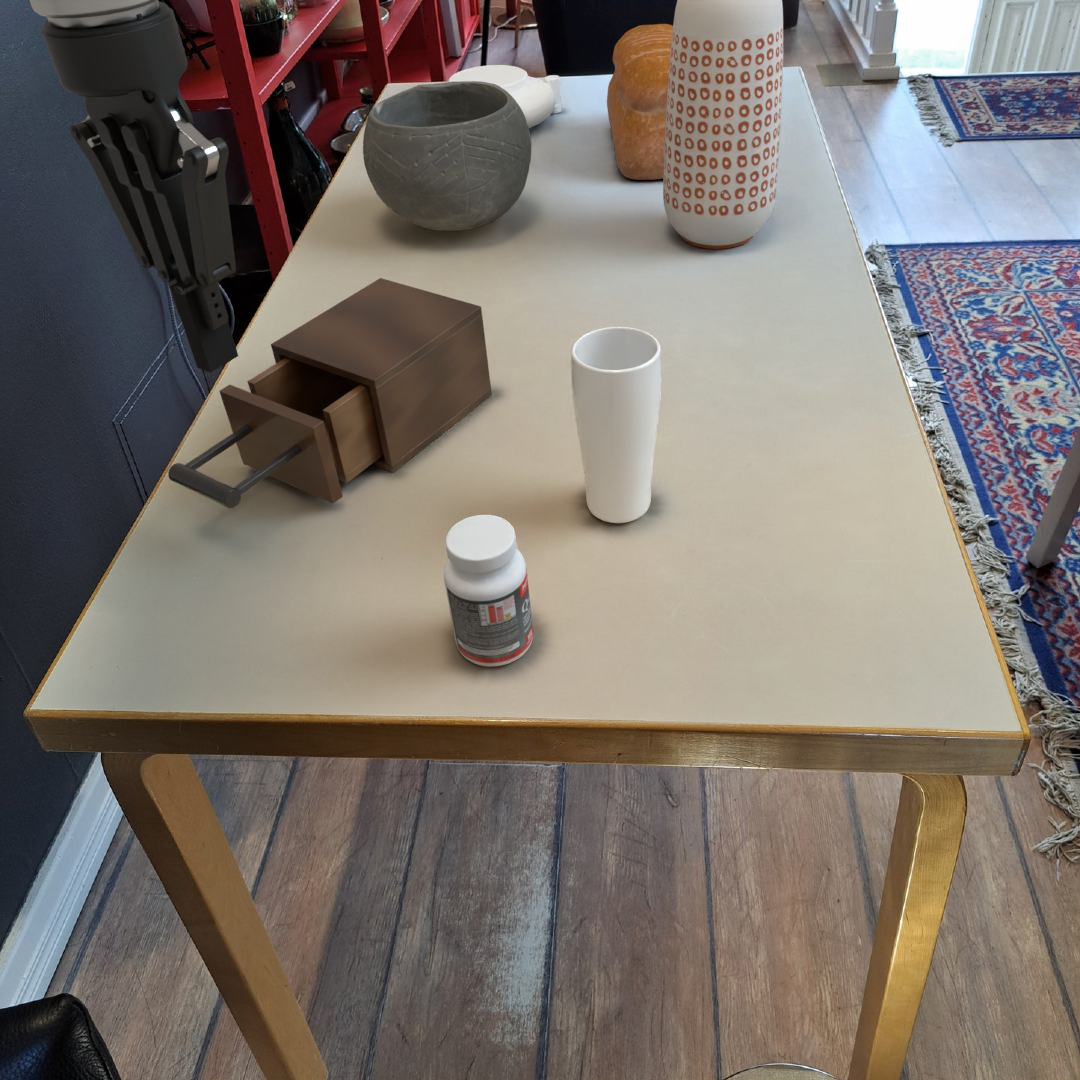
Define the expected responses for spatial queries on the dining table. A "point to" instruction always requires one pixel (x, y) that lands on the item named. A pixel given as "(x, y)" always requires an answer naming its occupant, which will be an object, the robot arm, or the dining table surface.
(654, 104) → the bread
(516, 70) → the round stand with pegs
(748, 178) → the white patterned vase
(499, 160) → the bowl
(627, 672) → the dining table surface
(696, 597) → the dining table surface
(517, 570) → the pill bottle
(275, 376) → the drawer
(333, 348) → the cabinet
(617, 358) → the drinking glass
